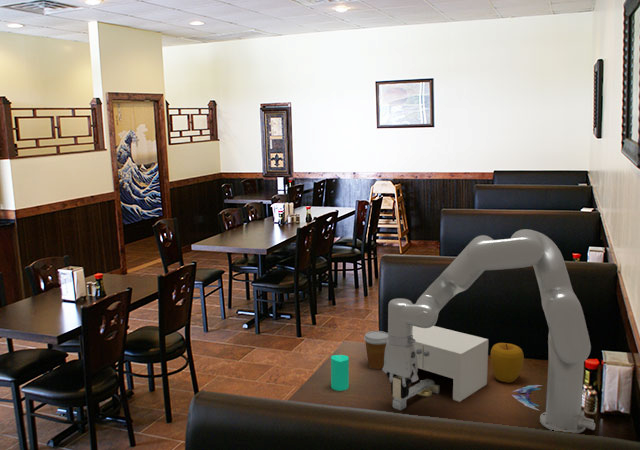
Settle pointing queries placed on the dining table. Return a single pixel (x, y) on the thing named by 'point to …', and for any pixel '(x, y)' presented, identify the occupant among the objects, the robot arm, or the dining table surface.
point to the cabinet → (453, 358)
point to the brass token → (425, 392)
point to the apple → (506, 361)
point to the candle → (339, 372)
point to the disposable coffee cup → (376, 348)
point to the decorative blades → (526, 399)
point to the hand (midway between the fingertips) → (399, 394)
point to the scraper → (410, 390)
